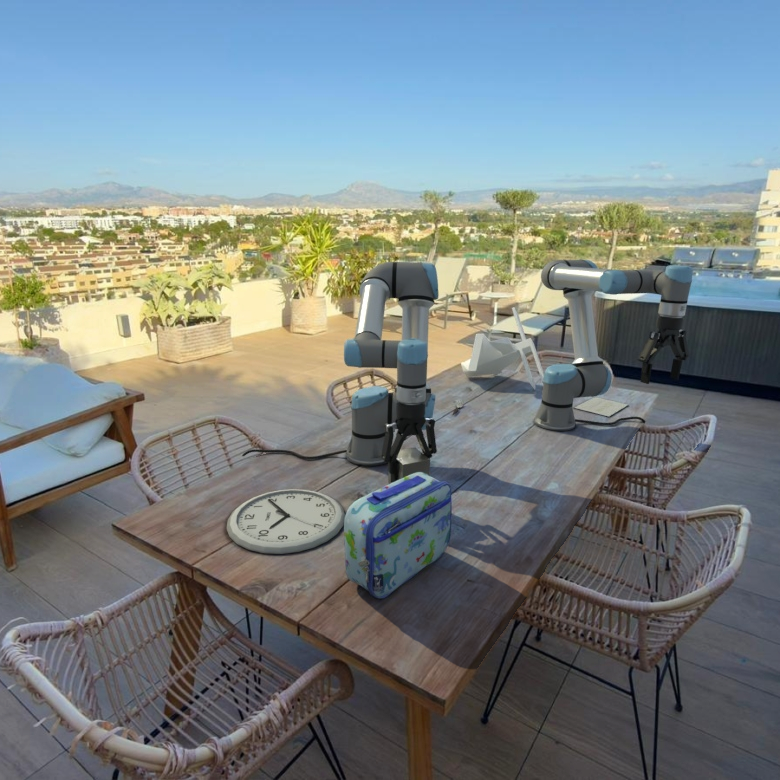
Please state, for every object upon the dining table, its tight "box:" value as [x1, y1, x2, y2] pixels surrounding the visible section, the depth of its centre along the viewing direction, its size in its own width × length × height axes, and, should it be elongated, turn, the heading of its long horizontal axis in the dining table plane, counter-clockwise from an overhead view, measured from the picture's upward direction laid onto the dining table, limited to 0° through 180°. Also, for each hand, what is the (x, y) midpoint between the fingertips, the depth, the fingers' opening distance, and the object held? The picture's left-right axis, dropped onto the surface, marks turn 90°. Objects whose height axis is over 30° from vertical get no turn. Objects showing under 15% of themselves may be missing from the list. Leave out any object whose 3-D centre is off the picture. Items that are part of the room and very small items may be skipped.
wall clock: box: [226, 488, 346, 555], centre depth 135 cm, size 30×2×30 cm
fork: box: [452, 399, 465, 416], centre depth 218 cm, size 3×16×2 cm, turn 160°
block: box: [387, 447, 431, 485], centre depth 140 cm, size 8×8×9 cm
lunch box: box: [343, 472, 453, 599], centre depth 113 cm, size 26×11×21 cm, turn 134°
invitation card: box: [573, 396, 629, 418], centre depth 226 cm, size 21×1×15 cm
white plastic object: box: [460, 306, 545, 391], centre depth 259 cm, size 37×45×31 cm
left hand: (408, 480), depth 141 cm, fingers closed on block, 8 cm apart
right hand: (659, 380), depth 171 cm, fingers open, 13 cm apart
